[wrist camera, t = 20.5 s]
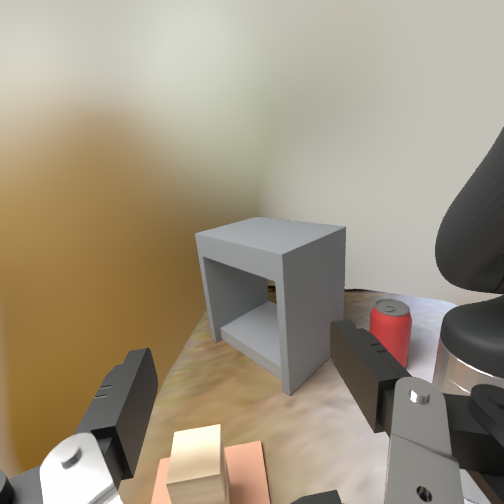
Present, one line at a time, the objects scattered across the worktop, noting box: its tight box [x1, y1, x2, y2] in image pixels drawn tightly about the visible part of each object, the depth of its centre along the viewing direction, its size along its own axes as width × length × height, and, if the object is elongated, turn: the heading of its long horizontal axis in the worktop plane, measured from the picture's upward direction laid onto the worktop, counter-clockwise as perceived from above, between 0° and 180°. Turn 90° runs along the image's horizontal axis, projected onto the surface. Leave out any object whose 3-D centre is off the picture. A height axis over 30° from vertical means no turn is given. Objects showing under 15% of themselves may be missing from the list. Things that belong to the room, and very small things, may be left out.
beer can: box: [369, 299, 412, 368], centre depth 48 cm, size 7×7×12 cm
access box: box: [195, 217, 346, 396], centre depth 54 cm, size 18×23×26 cm
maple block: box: [166, 424, 231, 504], centre depth 28 cm, size 5×5×10 cm
